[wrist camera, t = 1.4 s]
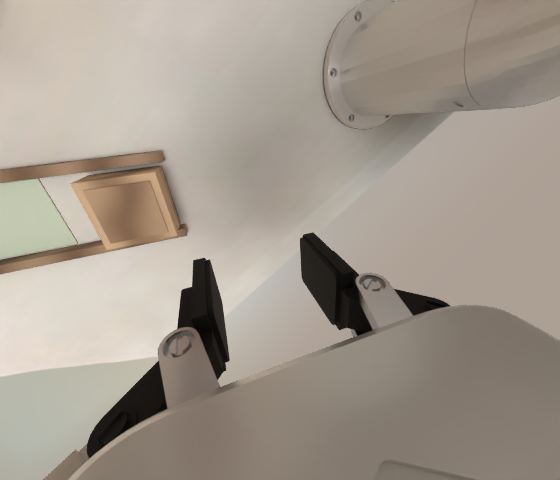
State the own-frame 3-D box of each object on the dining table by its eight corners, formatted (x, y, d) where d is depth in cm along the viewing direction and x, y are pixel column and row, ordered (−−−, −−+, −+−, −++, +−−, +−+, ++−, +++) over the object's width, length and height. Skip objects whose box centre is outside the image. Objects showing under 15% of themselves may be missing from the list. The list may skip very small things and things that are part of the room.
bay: (161, 150, 24) (158, 152, 23) (187, 230, 29) (186, 237, 28) (-123, 184, 19) (-154, 190, 17) (-34, 275, 24) (-51, 286, 22)
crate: (160, 165, 25) (154, 172, 21) (179, 222, 28) (177, 236, 25) (89, 175, 23) (69, 184, 20) (118, 234, 27) (106, 251, 23)
